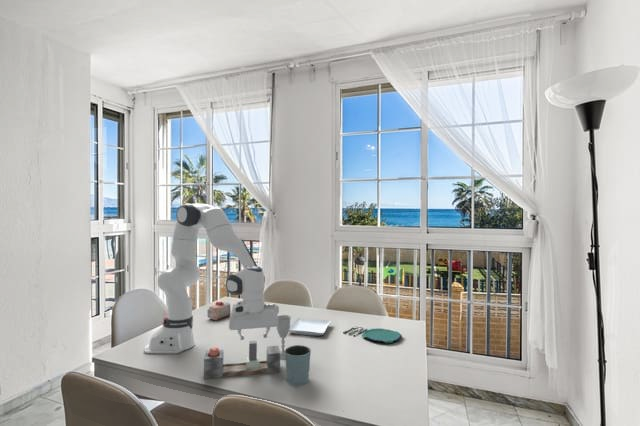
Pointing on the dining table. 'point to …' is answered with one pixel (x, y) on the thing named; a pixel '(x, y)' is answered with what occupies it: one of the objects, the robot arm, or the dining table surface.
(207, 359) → the rail
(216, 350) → the button
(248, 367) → the carriage
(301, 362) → the blue-grey cup
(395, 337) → the cutlery set
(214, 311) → the food item
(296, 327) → the salad plate
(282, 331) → the chalice
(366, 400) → the dining table surface
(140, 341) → the dining table surface
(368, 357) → the dining table surface
